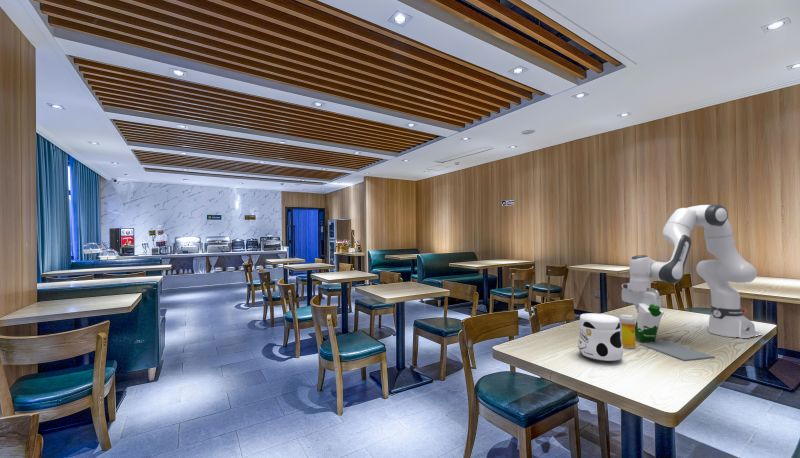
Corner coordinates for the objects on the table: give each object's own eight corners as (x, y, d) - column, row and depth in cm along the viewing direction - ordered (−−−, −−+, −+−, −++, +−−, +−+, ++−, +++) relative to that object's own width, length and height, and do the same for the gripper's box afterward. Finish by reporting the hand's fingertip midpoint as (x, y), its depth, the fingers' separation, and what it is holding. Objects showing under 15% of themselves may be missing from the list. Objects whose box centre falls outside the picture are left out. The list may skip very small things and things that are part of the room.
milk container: (569, 354, 156) (568, 314, 156) (597, 349, 162) (596, 311, 162) (604, 368, 140) (602, 324, 140) (633, 361, 146) (632, 319, 146)
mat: (666, 342, 170) (666, 340, 170) (714, 357, 148) (714, 356, 148) (639, 344, 167) (639, 343, 167) (684, 361, 145) (684, 359, 145)
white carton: (639, 343, 170) (647, 309, 163) (629, 331, 178) (637, 298, 171) (658, 343, 169) (667, 309, 162) (647, 331, 177) (655, 298, 170)
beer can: (637, 349, 161) (637, 317, 161) (623, 348, 162) (622, 317, 162) (631, 345, 166) (631, 314, 167) (618, 344, 168) (617, 314, 168)
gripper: (664, 289, 165) (665, 318, 165) (629, 283, 186) (629, 309, 185) (653, 290, 164) (654, 319, 164) (619, 284, 184) (619, 309, 184)
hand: (640, 313), depth 175 cm, fingers closed
